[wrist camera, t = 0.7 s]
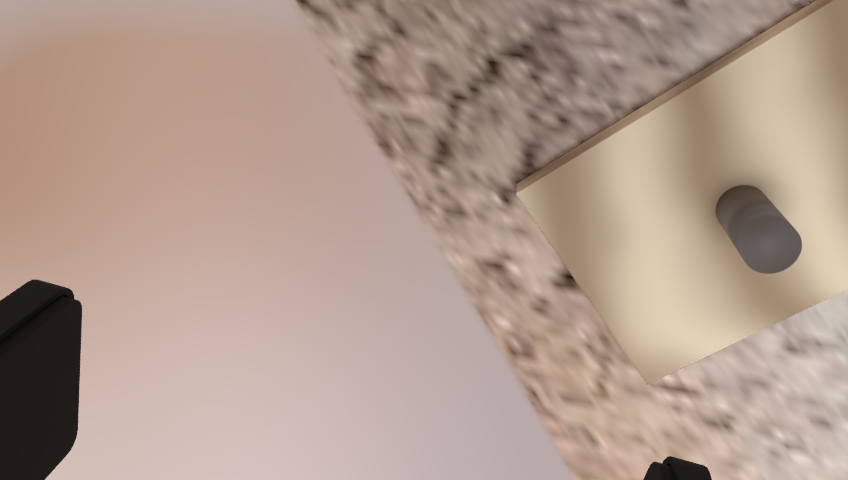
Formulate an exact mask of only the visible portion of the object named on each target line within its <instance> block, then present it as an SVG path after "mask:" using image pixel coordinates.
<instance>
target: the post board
mask: <svg viewBox="0 0 848 480" xmlns="http://www.w3.org/2000/svg"><path fill="white" fill-rule="evenodd" d="M516 195H517V196H518V198H519V199H520V200H521V202H522V203H523V205H524V206H525V208H526V209H527V211H528V212H529V214H530V215H531V216H532V218H533V219H534V221H535V222H536V224H537V225H538V227H539V228H540V230H541V231H542V232H543V234H544V235H545V237H546V238H547V240H548V241H549V243H550V244H551V246H552V247H553V248H554V250H555V251H556V253H557V254H558V256H559V257H560V259H561V260H562V262H563V263H564V264H565V266H566V267H567V269H568V270H569V272H570V273H571V275H572V276H573V278H574V279H575V280H576V282H577V283H578V285H579V286H580V288H581V289H582V291H583V292H584V294H585V295H586V297H587V298H588V299H589V301H590V302H591V304H592V305H593V307H594V308H595V310H596V311H597V313H598V314H599V315H600V317H601V318H602V320H603V321H604V323H605V324H606V326H607V327H608V329H609V330H610V331H611V333H612V334H613V336H614V337H615V339H616V340H617V342H618V343H619V345H620V346H621V347H622V349H623V350H624V352H625V353H626V355H627V356H628V358H629V359H630V361H631V362H632V363H633V365H634V366H635V368H636V369H637V371H638V372H639V374H640V375H641V377H642V378H643V379H644V381H645V382H646V384H649V383H651V382H653V381H655V380H657V379H659V378H662V377H664V376H666V375H668V374H670V373H672V372H674V371H676V370H678V369H681V368H683V367H685V366H687V365H689V364H691V363H693V362H695V361H697V360H700V359H702V358H704V357H706V356H708V355H710V354H712V353H714V352H716V351H718V350H721V349H723V348H725V347H727V346H729V345H731V344H733V343H735V342H737V341H740V340H742V339H744V338H746V337H748V336H750V335H752V334H754V333H756V332H759V331H761V330H763V329H765V328H767V327H769V326H771V325H773V324H775V323H778V322H780V321H782V320H784V319H786V318H788V317H790V316H792V315H794V314H796V313H799V312H801V311H803V310H805V309H807V308H809V307H811V306H813V305H815V304H818V303H820V302H822V301H824V300H826V299H828V298H830V297H832V296H834V295H837V294H839V293H841V292H843V291H845V290H847V289H848V0H815V1H813V2H812V3H810V4H808V5H807V6H805V7H804V8H802V9H800V10H799V11H797V12H795V13H794V14H792V15H791V16H789V17H787V18H786V19H784V20H782V21H781V22H779V23H777V24H776V25H774V26H773V27H771V28H769V29H768V30H766V31H764V32H763V33H761V34H760V35H758V36H756V37H755V38H753V39H751V40H750V41H748V42H747V43H745V44H743V45H742V46H740V47H738V48H737V49H735V50H733V51H732V52H730V53H729V54H727V55H725V56H724V57H722V58H720V59H719V60H717V61H716V62H714V63H712V64H711V65H709V66H707V67H706V68H704V69H703V70H701V71H699V72H698V73H696V74H694V75H693V76H691V77H689V78H688V79H686V80H685V81H683V82H681V83H680V84H678V85H676V86H675V87H673V88H672V89H670V90H668V91H667V92H665V93H663V94H662V95H660V96H659V97H657V98H655V99H654V100H652V101H650V102H649V103H647V104H645V105H644V106H642V107H641V108H639V109H637V110H636V111H634V112H632V113H631V114H629V115H628V116H626V117H624V118H623V119H621V120H619V121H618V122H616V123H615V124H613V125H611V126H610V127H608V128H606V129H605V130H603V131H601V132H600V133H598V134H597V135H595V136H593V137H592V138H590V139H588V140H587V141H585V142H584V143H582V144H580V145H579V146H577V147H575V148H574V149H572V150H571V151H569V152H567V153H566V154H564V155H562V156H561V157H559V158H558V159H556V160H554V161H553V162H551V163H549V164H548V165H546V166H544V167H543V168H541V169H540V170H538V171H536V172H535V173H533V174H531V175H530V176H528V177H527V178H525V179H523V180H522V181H520V182H518V183H517V185H516Z"/></svg>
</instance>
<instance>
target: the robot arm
mask: <svg viewBox="0 0 848 480" xmlns="http://www.w3.org/2000/svg"><path fill="white" fill-rule="evenodd" d="M81 321H82V305H81V303H80V302H79V301H78V300H75V299H74V295H73V292H72V291H71V290H70V289H68V288H65V287H62V286H58V285H55V284H51V283H47V282H44V281H40V280H31V281H29V282H27V283H26V284H24V285H23V286H21V287H20V288H18V289H17V290H16V291H14V292H12V293H11V294H10V295H8V296H7V297H5V298H4V299H2V300H1V301H0V480H45V478H46V477H47V476H48V475H49V474H50V473H51V472H52V471H53V470H54V469H55V467H56V466H57V465H58V464H59V463H60V462H61V461H62V460H63V458H64V457H65V456H66V455H67V454H68V453H69V451H70V450H71V448H72V446H73V444H74V442H75V439H76V436H77V431H78V407H79V379H80V378H79V377H80V350H81V323H82V322H81ZM644 480H712V479H711V476H710V472H709V470H708V468H707V467H705V466H703V465H700V464H696V463H693V462H689V461H685V460H682V459H678V458H675V457H671V456H670V457H667V458H666V459H665V460H664V461H663V463H662V464H661V463H658V462H653V463H652V464H651V465H650V467H649V469H648V471H647V473H646V475H645V477H644Z"/></svg>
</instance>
